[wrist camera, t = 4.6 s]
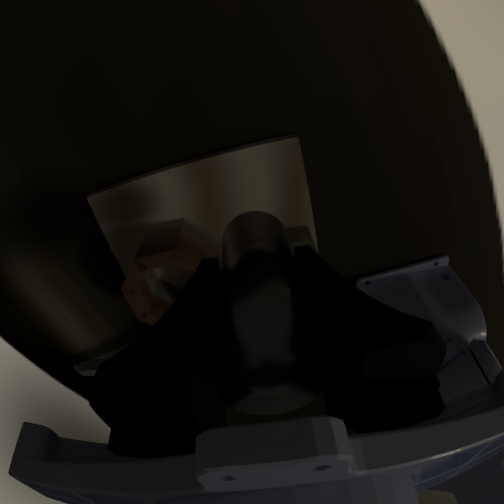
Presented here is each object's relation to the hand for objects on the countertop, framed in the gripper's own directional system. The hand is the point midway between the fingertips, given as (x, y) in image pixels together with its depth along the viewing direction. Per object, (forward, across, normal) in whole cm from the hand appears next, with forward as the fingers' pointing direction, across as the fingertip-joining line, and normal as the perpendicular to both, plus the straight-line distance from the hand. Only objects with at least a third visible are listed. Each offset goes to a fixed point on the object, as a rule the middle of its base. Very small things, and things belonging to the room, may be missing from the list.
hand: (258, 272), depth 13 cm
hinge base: (+10, +3, +6) cm, 13 cm away
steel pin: (+2, 0, 0) cm, 2 cm away
